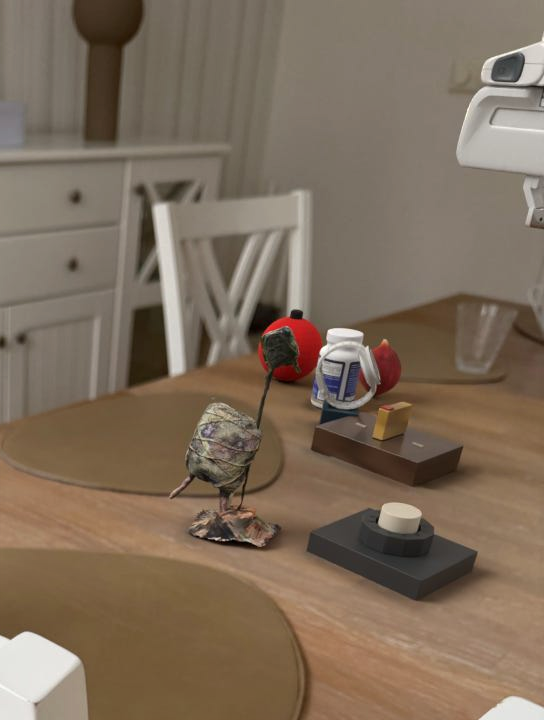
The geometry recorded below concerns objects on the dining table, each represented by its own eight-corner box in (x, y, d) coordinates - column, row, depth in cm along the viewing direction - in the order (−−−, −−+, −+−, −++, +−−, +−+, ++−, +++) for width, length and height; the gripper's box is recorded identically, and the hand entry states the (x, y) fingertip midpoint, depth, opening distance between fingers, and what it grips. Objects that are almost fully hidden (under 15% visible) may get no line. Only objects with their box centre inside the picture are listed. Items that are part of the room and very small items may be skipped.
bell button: (424, 529, 92) (429, 512, 91) (403, 539, 89) (408, 521, 88) (391, 516, 94) (395, 499, 93) (370, 525, 92) (374, 507, 91)
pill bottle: (341, 398, 137) (357, 326, 132) (358, 412, 133) (375, 338, 127) (303, 398, 136) (317, 325, 131) (319, 412, 132) (334, 337, 126)
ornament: (326, 381, 144) (340, 311, 139) (298, 393, 138) (312, 321, 133) (271, 367, 149) (283, 299, 144) (242, 378, 143) (254, 308, 137)
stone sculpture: (195, 501, 103) (223, 306, 93) (292, 535, 97) (333, 331, 87) (152, 524, 97) (176, 319, 87) (252, 561, 92) (291, 347, 81)
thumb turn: (395, 429, 118) (402, 399, 116) (405, 433, 117) (413, 402, 115) (371, 437, 115) (379, 406, 113) (382, 440, 114) (389, 409, 112)
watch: (368, 441, 123) (389, 353, 117) (303, 432, 124) (321, 344, 118) (368, 427, 127) (388, 341, 121) (306, 418, 129) (322, 333, 123)
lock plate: (457, 469, 116) (464, 444, 114) (411, 487, 110) (418, 461, 109) (357, 434, 125) (362, 410, 123) (310, 449, 119) (315, 424, 117)
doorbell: (472, 572, 93) (484, 533, 91) (415, 602, 87) (427, 562, 85) (364, 527, 100) (373, 490, 98) (305, 551, 94) (313, 513, 92)
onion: (401, 398, 139) (416, 341, 135) (382, 406, 136) (396, 348, 131) (365, 388, 143) (377, 332, 138) (345, 395, 139) (357, 338, 135)
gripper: (722, 73, 85) (664, 242, 92) (499, 63, 98) (464, 212, 105) (696, 71, 81) (638, 248, 88) (468, 61, 94) (433, 216, 101)
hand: (542, 228), depth 97 cm, fingers closed
